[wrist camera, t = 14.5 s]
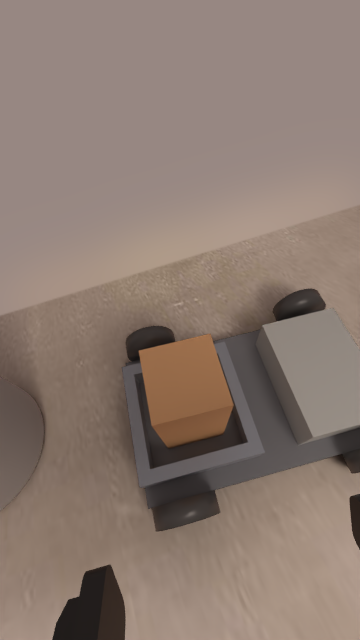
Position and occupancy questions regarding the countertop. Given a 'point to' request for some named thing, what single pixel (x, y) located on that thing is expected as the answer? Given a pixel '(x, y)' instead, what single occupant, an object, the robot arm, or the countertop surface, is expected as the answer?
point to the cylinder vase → (18, 439)
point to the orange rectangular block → (186, 391)
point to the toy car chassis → (254, 409)
